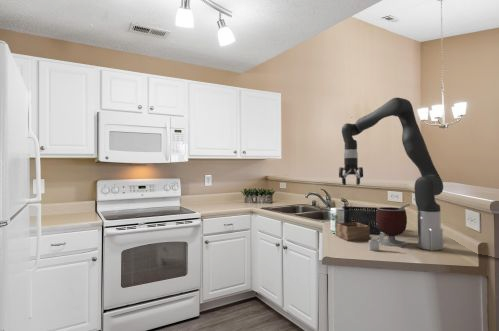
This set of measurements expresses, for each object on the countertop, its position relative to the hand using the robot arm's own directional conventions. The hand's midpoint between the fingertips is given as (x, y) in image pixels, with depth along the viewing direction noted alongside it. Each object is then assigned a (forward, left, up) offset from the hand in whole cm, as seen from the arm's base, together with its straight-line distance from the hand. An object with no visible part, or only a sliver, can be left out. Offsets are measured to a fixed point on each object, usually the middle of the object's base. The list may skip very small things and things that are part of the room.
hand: (351, 184), depth 183 cm
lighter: (-40, +10, -28) cm, 50 cm away
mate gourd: (-31, -5, -28) cm, 42 cm away
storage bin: (+1, -11, -28) cm, 30 cm away
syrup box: (-2, +10, -28) cm, 30 cm away
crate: (-15, +8, -28) cm, 32 cm away
